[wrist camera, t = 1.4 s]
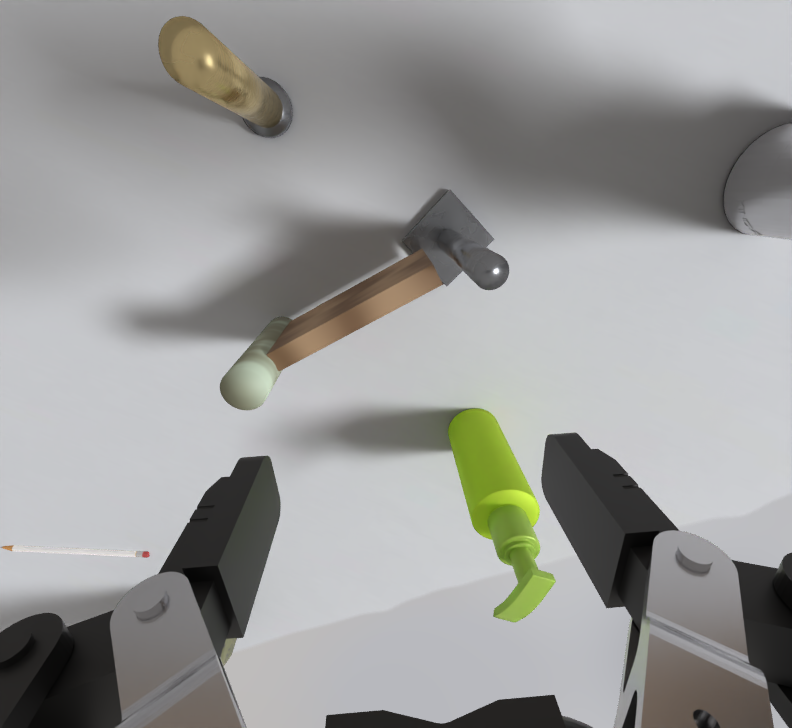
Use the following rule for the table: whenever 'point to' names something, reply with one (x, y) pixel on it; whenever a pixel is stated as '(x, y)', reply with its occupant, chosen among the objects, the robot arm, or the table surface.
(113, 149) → the table surface
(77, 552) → the pencil
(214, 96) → the post
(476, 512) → the soap dispenser
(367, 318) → the gate
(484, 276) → the hinge post
